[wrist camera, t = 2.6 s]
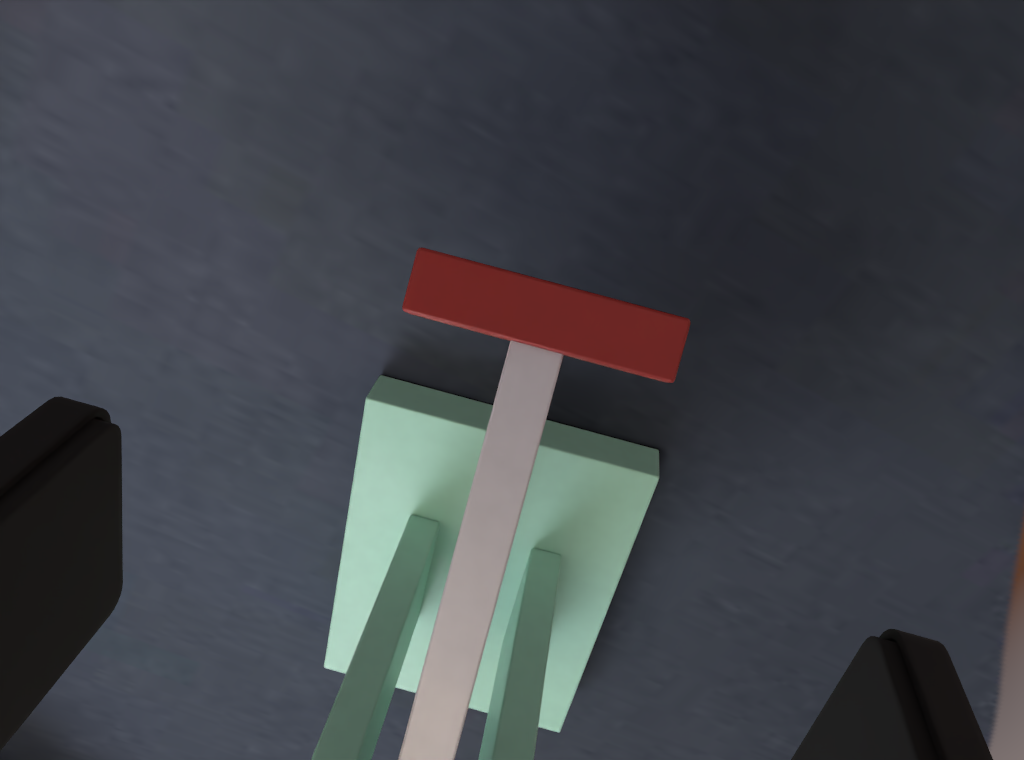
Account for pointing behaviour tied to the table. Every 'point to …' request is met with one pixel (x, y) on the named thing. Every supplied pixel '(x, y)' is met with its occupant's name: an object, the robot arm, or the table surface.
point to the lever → (510, 446)
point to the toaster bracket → (428, 554)
